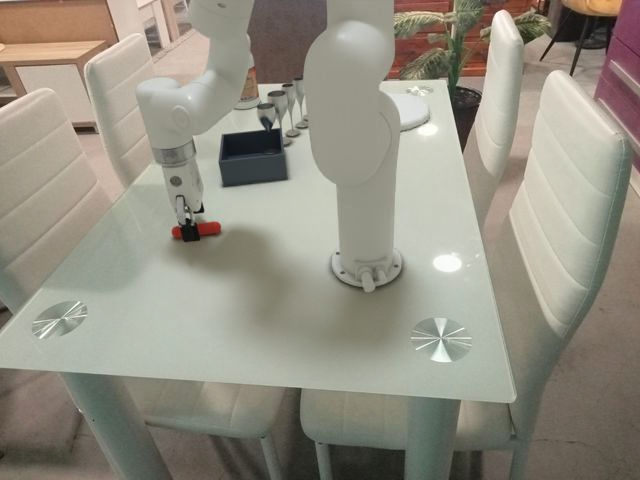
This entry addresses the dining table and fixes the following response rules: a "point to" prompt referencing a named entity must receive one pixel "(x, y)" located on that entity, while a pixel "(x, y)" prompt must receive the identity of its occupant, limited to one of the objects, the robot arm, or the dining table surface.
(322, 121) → the robot arm
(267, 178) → the bin
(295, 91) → the goblet set
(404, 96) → the decorative plate
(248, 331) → the dining table surface
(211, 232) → the red rounded rod
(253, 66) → the fruit juice
